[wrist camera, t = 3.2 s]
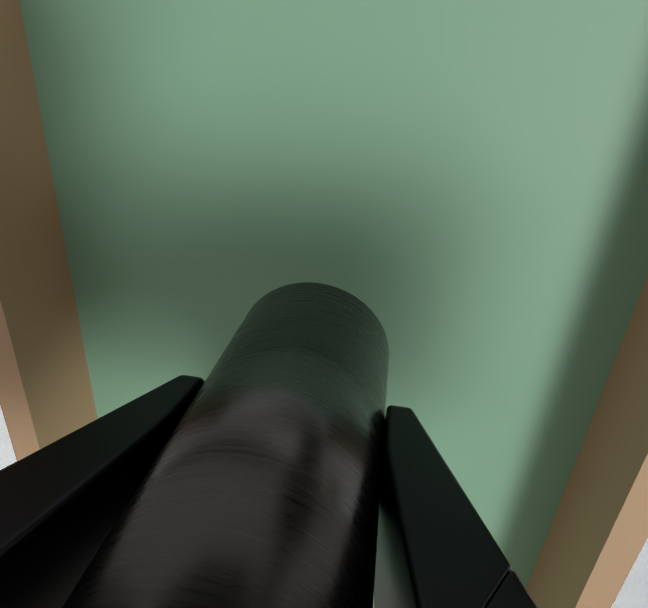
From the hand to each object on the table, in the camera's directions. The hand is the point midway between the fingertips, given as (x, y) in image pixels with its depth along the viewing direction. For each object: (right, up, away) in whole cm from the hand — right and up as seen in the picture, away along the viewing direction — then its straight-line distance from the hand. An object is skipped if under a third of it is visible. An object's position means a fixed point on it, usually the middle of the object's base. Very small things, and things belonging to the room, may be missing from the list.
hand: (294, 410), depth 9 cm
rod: (0, -4, +6) cm, 8 cm away
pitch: (0, -5, +9) cm, 10 cm away
